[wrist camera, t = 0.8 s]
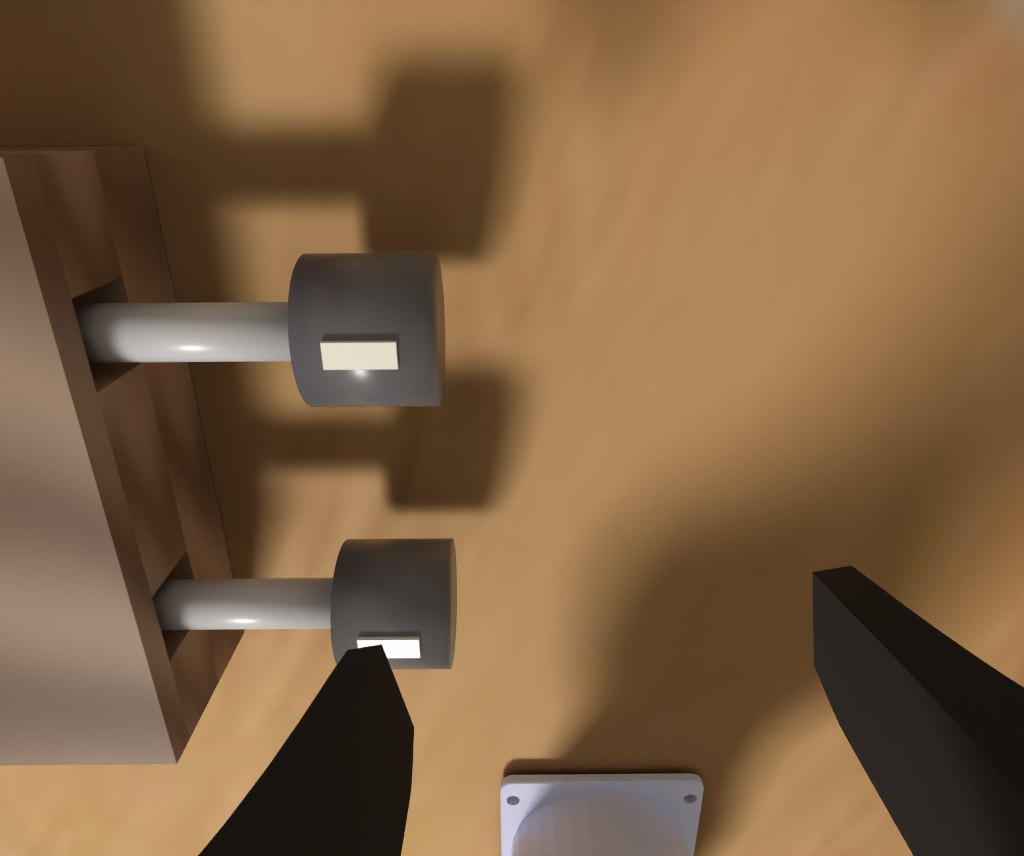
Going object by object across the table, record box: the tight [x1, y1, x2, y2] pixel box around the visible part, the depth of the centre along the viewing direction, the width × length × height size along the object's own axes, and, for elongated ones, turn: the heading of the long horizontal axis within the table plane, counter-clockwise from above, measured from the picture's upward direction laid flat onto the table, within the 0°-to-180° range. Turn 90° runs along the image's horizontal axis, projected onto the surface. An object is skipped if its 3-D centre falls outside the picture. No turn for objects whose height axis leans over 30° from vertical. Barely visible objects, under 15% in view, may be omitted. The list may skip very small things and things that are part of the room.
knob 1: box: [73, 253, 445, 407], centre depth 16 cm, size 4×9×4 cm, turn 90°
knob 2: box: [152, 538, 457, 669], centre depth 20 cm, size 4×9×4 cm, turn 90°
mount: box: [0, 146, 244, 765], centre depth 19 cm, size 16×6×6 cm, turn 0°
